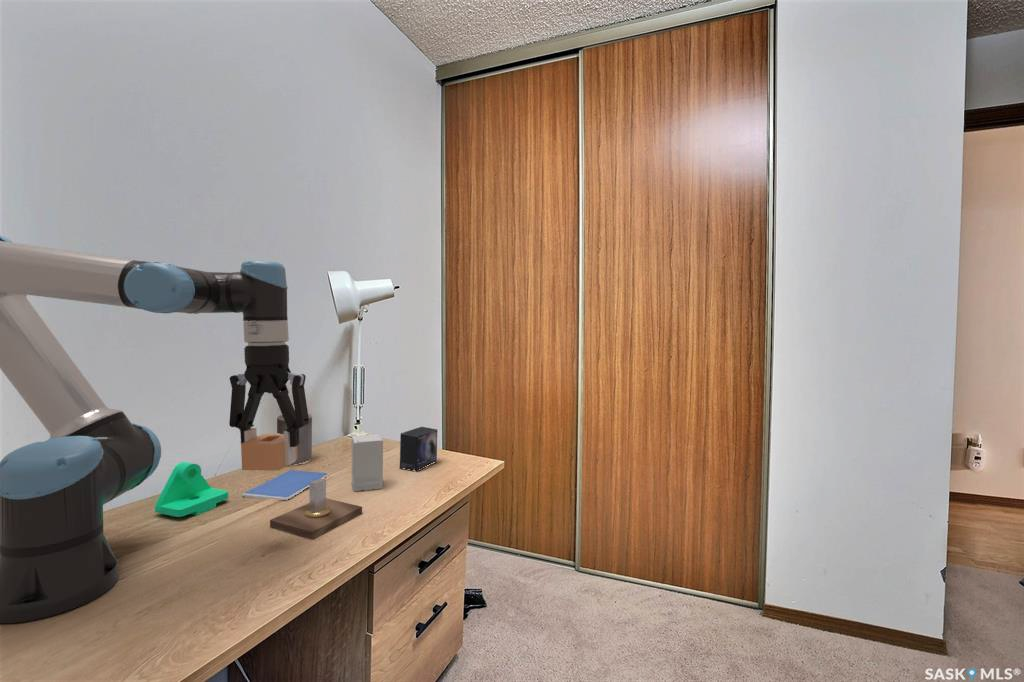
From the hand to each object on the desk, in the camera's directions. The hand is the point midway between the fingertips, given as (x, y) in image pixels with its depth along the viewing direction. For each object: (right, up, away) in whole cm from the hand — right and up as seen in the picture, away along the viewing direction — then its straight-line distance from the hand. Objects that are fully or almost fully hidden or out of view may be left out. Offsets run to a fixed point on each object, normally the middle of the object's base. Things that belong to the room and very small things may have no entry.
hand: (271, 462), depth 91 cm
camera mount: (-25, -15, +16) cm, 34 cm away
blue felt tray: (-11, -15, +32) cm, 37 cm away
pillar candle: (-19, -13, +52) cm, 56 cm away
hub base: (+4, -15, +11) cm, 19 cm away
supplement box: (+9, -14, +32) cm, 37 cm away
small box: (+19, -14, +50) cm, 55 cm away
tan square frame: (0, 0, 0) cm, 0 cm away
